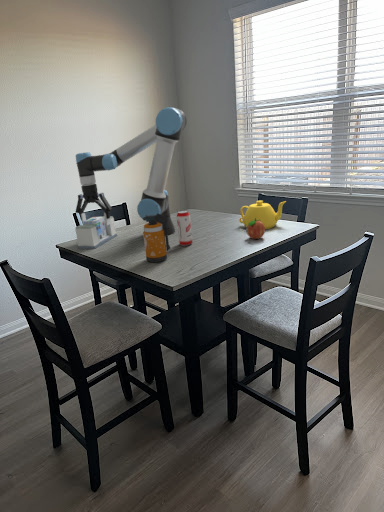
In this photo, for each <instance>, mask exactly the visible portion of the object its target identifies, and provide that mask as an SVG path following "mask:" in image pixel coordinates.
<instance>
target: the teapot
mask: <svg viewBox="0 0 384 512" xmlns="http://www.w3.org/2000/svg"><path fill="white" fill-rule="evenodd" d="M286 202H287V201H286V200H285V201H282V202H279V204H278V208H277V212H276V211H275V209H274V208H273V207H272V206H271V205H272V204H269V203H267V202H264V200H256V202H255V203H252V204H249V206H248V205H243V206H241V208H240V211H239V213H240V216H241V217H239V218H238V220H239V223H241V224H243V226H244V227H245V228H247V226H248V224H249V222H251V221H254V220H255V218H256V220H260V221H261V222H262V223H263V224H264V226H265V230H269V229H273V228H274V227H275V226H276V225H277V223H278V221H279V220H281V217H282V213H283V205H284V204H285V203H286ZM244 209H246V211H245V213H244V211H243V210H244Z"/></svg>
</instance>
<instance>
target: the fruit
mask: <svg viewBox="0 0 384 512" xmlns="http://www.w3.org/2000/svg"><path fill="white" fill-rule="evenodd" d="M265 233H266V229H265V226H264V224H263V223H262V222H261V221H260V220H256V218H255V220H254V221H251V222H249V224H248V226H247V227H246V234H247V236H248V237H249V238H250V239H252V240H258V239H261V238H262V237H264V235H265Z"/></svg>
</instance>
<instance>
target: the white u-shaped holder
mask: <svg viewBox="0 0 384 512" xmlns="http://www.w3.org/2000/svg"><path fill="white" fill-rule="evenodd" d="M103 217H104V216H103ZM104 221H105V217H104ZM109 221H110V224H109V225H106V222H105V227H106V234H107V236H106V237H104V238H103V239H101V240H99V241H98V236H97V230H96V226H95V225H83V224H81V225H78V226H75V228H74V229H75V234H76V235H75V236H76V239H77V241H76V242H77V249H84V250H85V249H87V250H88V249H93V250H94V249H97V248H100V247H101V246H103V245H105V243H107V242H109V241H111V240H112V239H114V238H116V237H117V236H118V234H117V232H116V225H115V218H114V216H113V215H112V216H111V215H110V218H109Z"/></svg>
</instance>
